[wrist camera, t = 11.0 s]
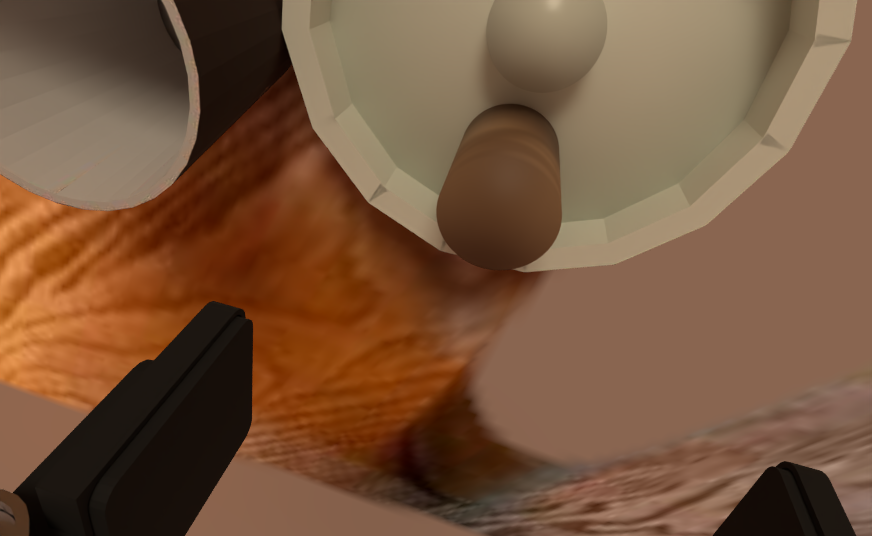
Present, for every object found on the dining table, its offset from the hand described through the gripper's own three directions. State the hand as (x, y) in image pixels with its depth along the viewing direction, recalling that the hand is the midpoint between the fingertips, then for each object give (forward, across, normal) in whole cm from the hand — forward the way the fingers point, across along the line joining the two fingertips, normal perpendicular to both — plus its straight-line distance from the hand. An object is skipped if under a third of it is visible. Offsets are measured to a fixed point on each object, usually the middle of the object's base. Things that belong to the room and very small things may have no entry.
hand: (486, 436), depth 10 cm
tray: (+16, +1, -5) cm, 17 cm away
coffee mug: (+16, +15, -3) cm, 22 cm away
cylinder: (+15, +1, 0) cm, 15 cm away
